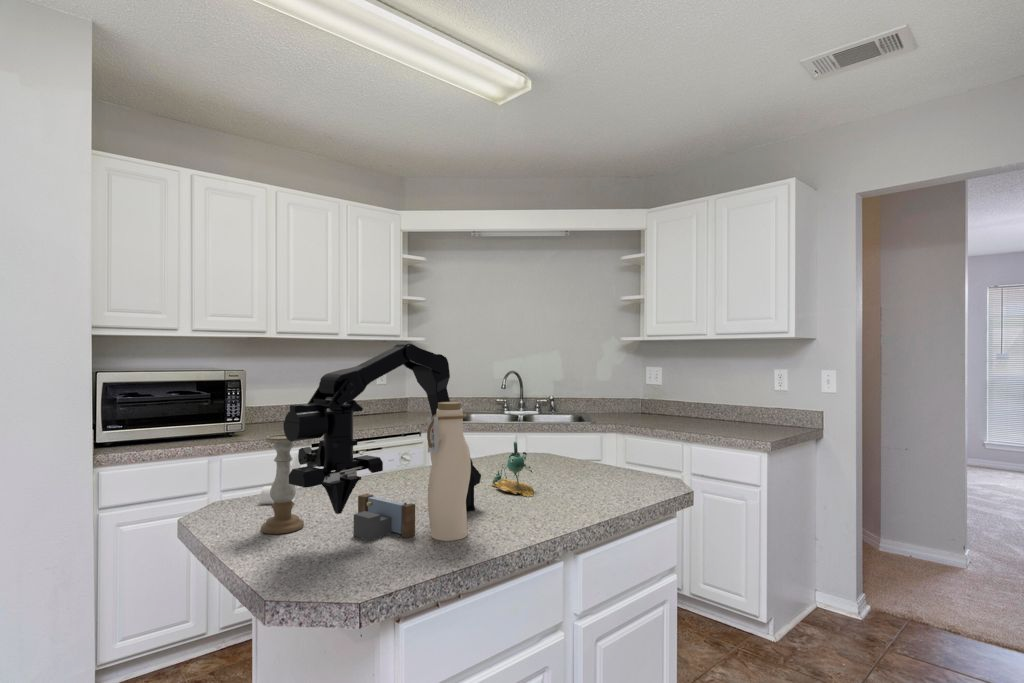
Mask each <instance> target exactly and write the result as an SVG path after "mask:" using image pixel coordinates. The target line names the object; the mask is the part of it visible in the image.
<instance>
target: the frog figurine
mask: <svg viewBox="0 0 1024 683" xmlns="http://www.w3.org/2000/svg"><path fill="white" fill-rule="evenodd" d="M527 456H528V455H527V452H526V451H523V452H522V455H521V453H520V452H518V443H517V441H514V442H513V452H511V454H510V455H509V456H508V459H507V461H506V462H507V464H504V463H503V464H502V465H501V470H498V471H497V474H495V476H494V477H493V480H492V483H491V484H492V485H493V486H494V488H498V489H499V490H501V491H503V492H507V493H511V494H514V495H517V494H519V495H522V496H523V497H526V496H527V498H530V497H534V488H533V485H529V484H527V483H524V482H522V481H520V480H519V477H520V472H522V471H523V469H524V468H525V469H526V470H528V472H530V473H533V470H532V469H531V466H530V465H528V466H527V463H525V461H526V460H527ZM503 466H505V467H504V468H503ZM507 468H508V471H509V472H512V474H514V475H513V477H515V478H516V481H515V480H513V479H508V476H507V474H506V469H507ZM503 471H504V476H505V478H502V477H503ZM517 474H518V475H517ZM493 486H492V487H493ZM529 496H530V497H529Z"/></svg>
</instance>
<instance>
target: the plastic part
mask: <svg viewBox="0 0 1024 683" xmlns="http://www.w3.org/2000/svg"><path fill="white" fill-rule="evenodd" d="M290 456H291V457H292V455H291V454H290ZM292 461H293V462H292ZM301 466H302V465H301V464H300V463H299V459H298V453H297V454H295V456H294V459H293V460H291V461H290V472H291V471H292V469H296V468H301ZM271 487H272V485H265V486H263V487H262V489H261V492H260V503H261V505H272V504H273V503H274V501H273V500H272V499H271V497H270V489H271ZM295 487H296V492H297V490H298V486H296V485H295ZM296 497H297V494H296V495H295V496H294V498H293V499H292V502H294V503H295V501H296Z"/></svg>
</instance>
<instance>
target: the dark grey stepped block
mask: <svg viewBox="0 0 1024 683" xmlns="http://www.w3.org/2000/svg"><path fill="white" fill-rule="evenodd" d="M389 533H390V534H392V531H391V517H388V516H384V515H380V514H375V513H371V512H367V511H364V512H360V513H358V512H357V513H353V536H354V537H355V536H357V537H356V538H359V537H360V538H359V539H362V538H363V540H365V539H366V540H367V541H372V540H375V539H378V538H380V536H381V537H384V536H386V534H387V535H390V534H389ZM383 535H384V536H383ZM374 538H375V539H374Z"/></svg>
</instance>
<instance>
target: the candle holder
mask: <svg viewBox="0 0 1024 683" xmlns="http://www.w3.org/2000/svg"><path fill="white" fill-rule="evenodd" d="M264 442H265V443H268V444H273V445H272V447H273V449H274V450H275V452H276V456H275V458H274V459H273V461H274V462H275V463H276V464H275V465H276V471H275V472H276V473H275V477H274V481H273V482H272V485H271V486H272V487H271V489H270V497H271V499H272V500H273V501H274V503H273V504H270V507H271V509H272V510H273V512H274V514H273V516H270V517H268V518H267V519H266V521H265V522H264V523H262V524H261V525H260V531H261V532H262V533H264V534H267V535H268V534H269V535H281V534H288V533H293V532H296V531H299V530H301V529H302V528H303V527H304V526H305V521H304V520H303V519H302V518H300V516H299V515H297V514H293V513H292V510H293V508H294V506H295V501H294V502H292V499H293V498H294V496H295V495H296V496H297V491H296V487H295V485H292V484H289V474H290V461H291V462H292V461H294V459H293V457H292V455H291V451H292V448H294V443H295V442H297V441H293V442H291V441H289V440H288V439H287V438H286V436H285V433H282V434H281V433H279V434H272V435H271V434H270V435H267V436H265V437H264ZM290 455H291V456H290Z"/></svg>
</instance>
